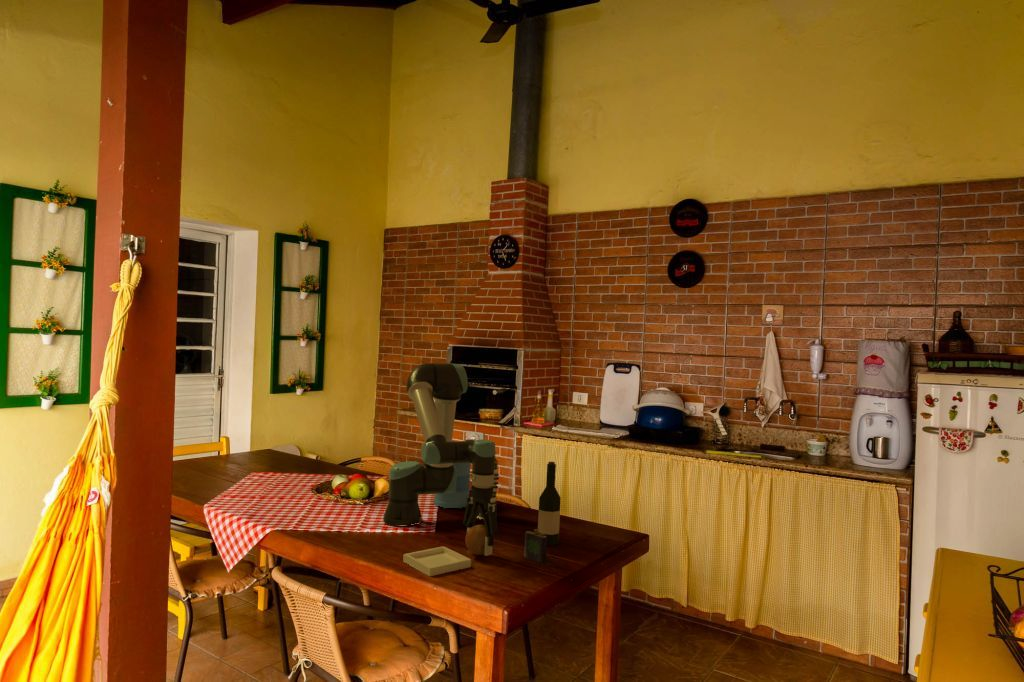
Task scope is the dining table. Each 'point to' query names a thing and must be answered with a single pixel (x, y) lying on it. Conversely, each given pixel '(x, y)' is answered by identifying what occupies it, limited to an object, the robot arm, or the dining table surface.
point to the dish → (436, 561)
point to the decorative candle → (493, 499)
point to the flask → (535, 546)
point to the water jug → (456, 489)
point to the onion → (476, 539)
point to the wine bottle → (549, 508)
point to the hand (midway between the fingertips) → (479, 550)
